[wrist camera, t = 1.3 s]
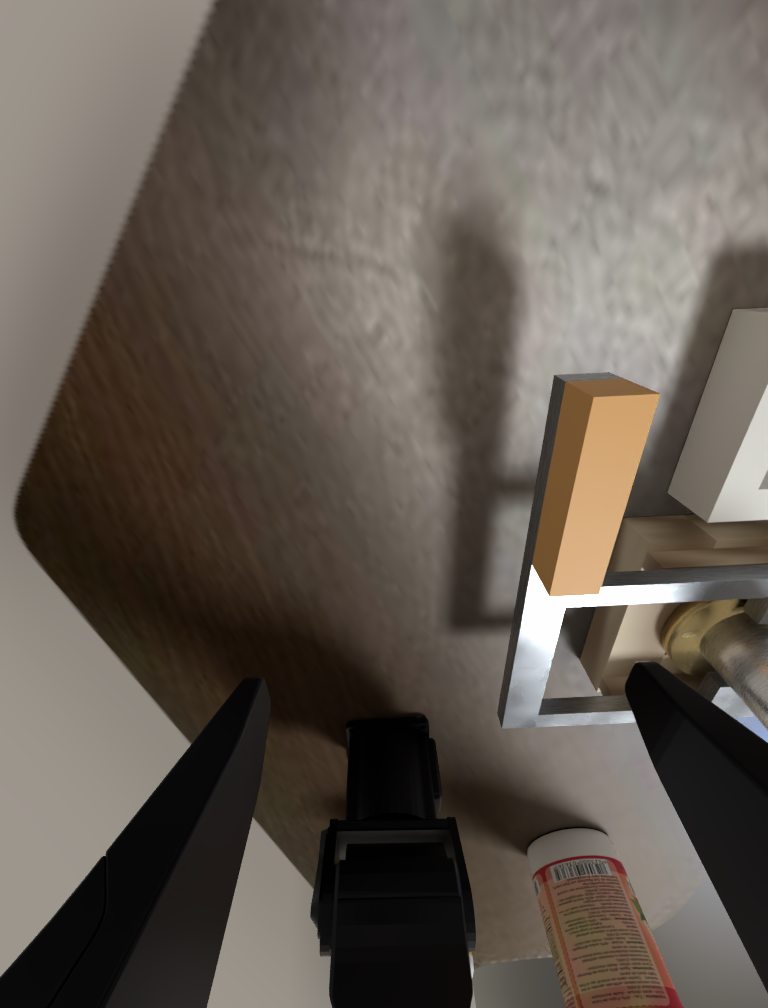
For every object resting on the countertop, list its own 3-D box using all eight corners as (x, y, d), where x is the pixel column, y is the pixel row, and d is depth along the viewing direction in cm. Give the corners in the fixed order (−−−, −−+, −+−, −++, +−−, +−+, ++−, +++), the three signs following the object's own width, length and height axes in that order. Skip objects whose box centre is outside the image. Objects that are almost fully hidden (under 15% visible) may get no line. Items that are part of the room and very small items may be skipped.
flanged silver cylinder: (623, 633, 27) (758, 827, 18) (654, 551, 24) (843, 738, 14) (725, 628, 27) (916, 820, 18) (771, 545, 24) (1040, 728, 14)
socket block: (579, 660, 28) (606, 710, 25) (623, 518, 22) (666, 559, 19) (747, 652, 28) (796, 701, 25) (836, 507, 22) (915, 547, 19)
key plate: (497, 712, 25) (511, 764, 22) (554, 375, 14) (593, 396, 12) (785, 698, 25) (834, 748, 22) (1046, 351, 15) (1193, 368, 12)
